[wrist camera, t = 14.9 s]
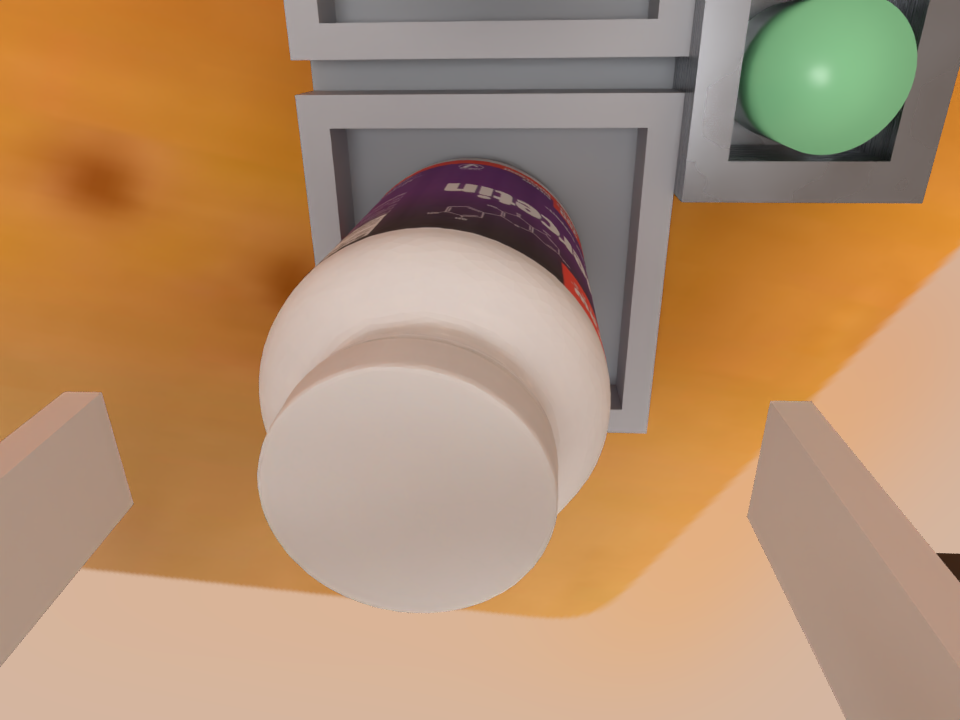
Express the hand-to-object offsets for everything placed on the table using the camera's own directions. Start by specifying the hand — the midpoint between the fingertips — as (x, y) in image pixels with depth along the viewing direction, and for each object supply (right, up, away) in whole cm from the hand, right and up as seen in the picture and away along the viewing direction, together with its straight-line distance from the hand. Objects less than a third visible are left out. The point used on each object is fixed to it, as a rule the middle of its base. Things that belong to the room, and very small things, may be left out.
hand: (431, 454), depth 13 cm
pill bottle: (+1, +6, +12) cm, 13 cm away
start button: (+11, +11, +8) cm, 17 cm away
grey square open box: (+11, +12, +9) cm, 18 cm away
